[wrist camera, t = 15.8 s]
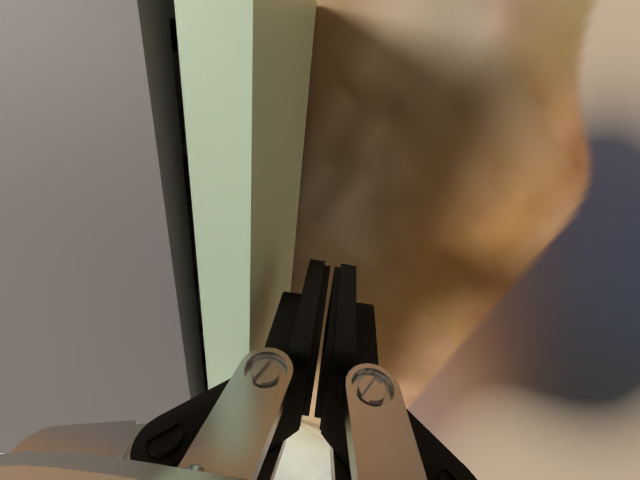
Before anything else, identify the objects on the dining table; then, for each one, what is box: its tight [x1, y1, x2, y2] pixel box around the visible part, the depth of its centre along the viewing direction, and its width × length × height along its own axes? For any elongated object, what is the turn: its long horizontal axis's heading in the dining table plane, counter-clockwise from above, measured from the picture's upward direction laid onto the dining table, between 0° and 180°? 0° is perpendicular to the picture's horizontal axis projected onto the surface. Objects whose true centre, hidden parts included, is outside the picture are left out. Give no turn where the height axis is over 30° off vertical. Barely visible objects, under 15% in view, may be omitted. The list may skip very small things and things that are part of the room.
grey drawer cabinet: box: [0, 0, 208, 454], centre depth 13 cm, size 14×18×9 cm
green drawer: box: [173, 0, 317, 390], centre depth 13 cm, size 14×19×8 cm
